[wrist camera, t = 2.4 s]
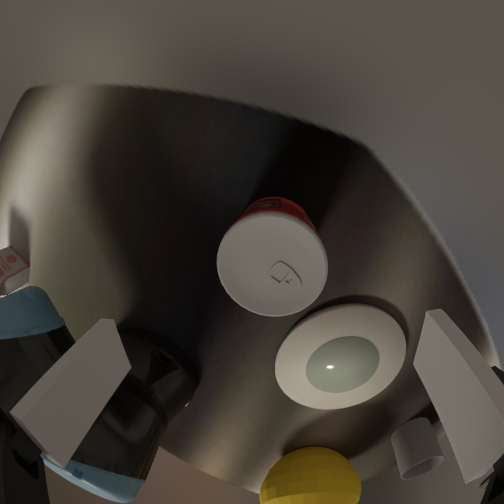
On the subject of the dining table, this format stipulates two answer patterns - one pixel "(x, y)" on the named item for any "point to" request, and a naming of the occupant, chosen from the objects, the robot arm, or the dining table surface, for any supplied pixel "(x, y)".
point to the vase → (311, 479)
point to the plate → (340, 356)
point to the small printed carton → (12, 271)
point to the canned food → (272, 258)
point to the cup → (416, 448)
